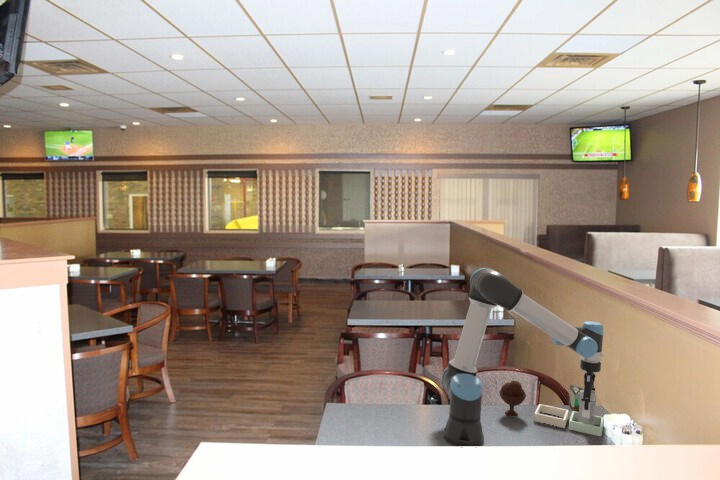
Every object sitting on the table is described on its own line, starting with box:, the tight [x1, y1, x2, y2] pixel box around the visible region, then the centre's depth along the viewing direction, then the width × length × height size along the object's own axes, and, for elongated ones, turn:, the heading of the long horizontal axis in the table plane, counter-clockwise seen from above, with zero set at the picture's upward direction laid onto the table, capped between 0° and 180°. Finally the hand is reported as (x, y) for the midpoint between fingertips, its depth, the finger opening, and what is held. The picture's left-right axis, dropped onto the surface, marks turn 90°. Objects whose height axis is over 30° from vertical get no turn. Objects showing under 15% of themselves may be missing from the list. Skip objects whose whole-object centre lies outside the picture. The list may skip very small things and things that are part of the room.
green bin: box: [568, 411, 605, 437], centre depth 209 cm, size 12×12×4 cm
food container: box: [568, 384, 584, 413], centre depth 224 cm, size 12×6×10 cm, turn 168°
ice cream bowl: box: [499, 380, 527, 417], centre depth 219 cm, size 11×11×15 cm
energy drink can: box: [577, 390, 597, 426], centre depth 208 cm, size 6×6×15 cm
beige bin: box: [533, 403, 570, 429], centre depth 215 cm, size 12×12×4 cm
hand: (587, 411), depth 208 cm, fingers open, 13 cm apart
